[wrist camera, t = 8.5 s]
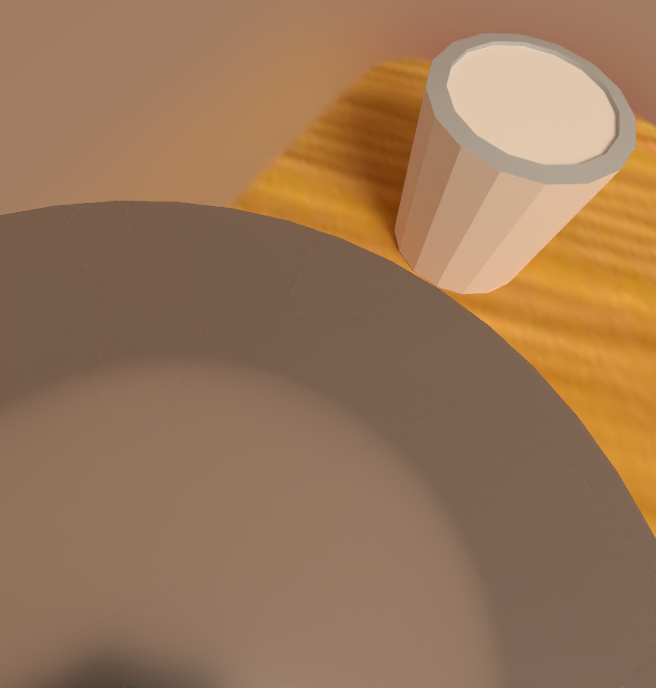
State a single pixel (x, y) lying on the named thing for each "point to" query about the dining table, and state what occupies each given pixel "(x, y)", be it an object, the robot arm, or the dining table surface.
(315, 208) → the dining table surface
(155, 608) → the silver metal cylinder
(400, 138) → the dining table surface
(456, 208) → the white cup
